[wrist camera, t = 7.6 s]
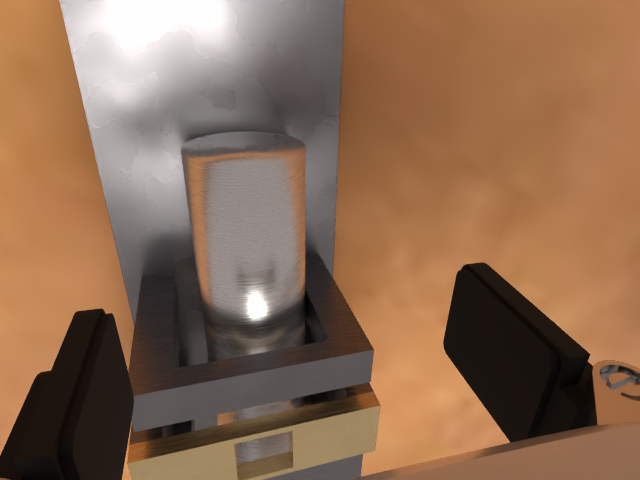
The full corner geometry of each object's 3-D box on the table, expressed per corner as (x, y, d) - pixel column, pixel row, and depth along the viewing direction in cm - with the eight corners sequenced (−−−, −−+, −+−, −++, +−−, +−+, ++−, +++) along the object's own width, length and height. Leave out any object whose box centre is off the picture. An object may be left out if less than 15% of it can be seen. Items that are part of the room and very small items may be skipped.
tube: (161, 140, 18) (209, 174, 14) (268, 126, 21) (331, 152, 17) (206, 431, 26) (243, 499, 23) (278, 394, 29) (322, 450, 25)
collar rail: (340, -15, 19) (448, -30, 11) (325, 396, 30) (372, 522, 23) (57, -27, 16) (-51, -57, 8) (160, 431, 28) (154, 588, 20)
